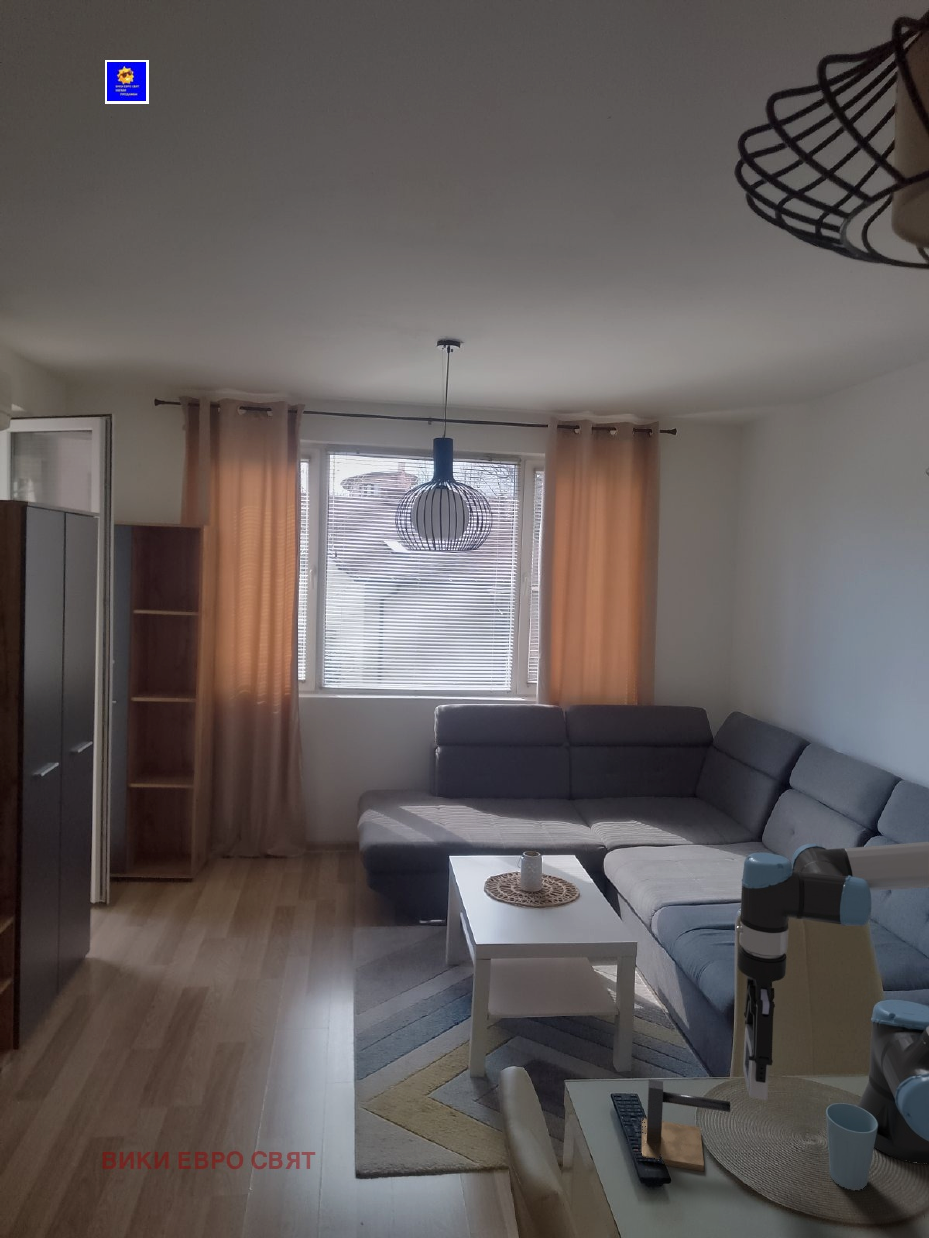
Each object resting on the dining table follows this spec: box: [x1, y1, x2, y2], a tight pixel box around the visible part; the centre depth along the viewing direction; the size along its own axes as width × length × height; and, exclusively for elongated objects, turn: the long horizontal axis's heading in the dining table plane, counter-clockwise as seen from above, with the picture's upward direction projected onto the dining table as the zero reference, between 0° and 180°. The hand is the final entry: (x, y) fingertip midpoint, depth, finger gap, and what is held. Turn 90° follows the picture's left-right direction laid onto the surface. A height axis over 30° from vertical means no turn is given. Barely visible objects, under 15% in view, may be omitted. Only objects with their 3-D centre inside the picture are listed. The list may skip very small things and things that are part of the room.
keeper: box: [641, 1079, 731, 1172], centre depth 145 cm, size 14×10×10 cm
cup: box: [825, 1102, 878, 1191], centre depth 139 cm, size 8×8×10 cm
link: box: [742, 1024, 753, 1098], centre depth 143 cm, size 2×8×8 cm, turn 168°
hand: (754, 1081), depth 143 cm, fingers closed on link, 8 cm apart
